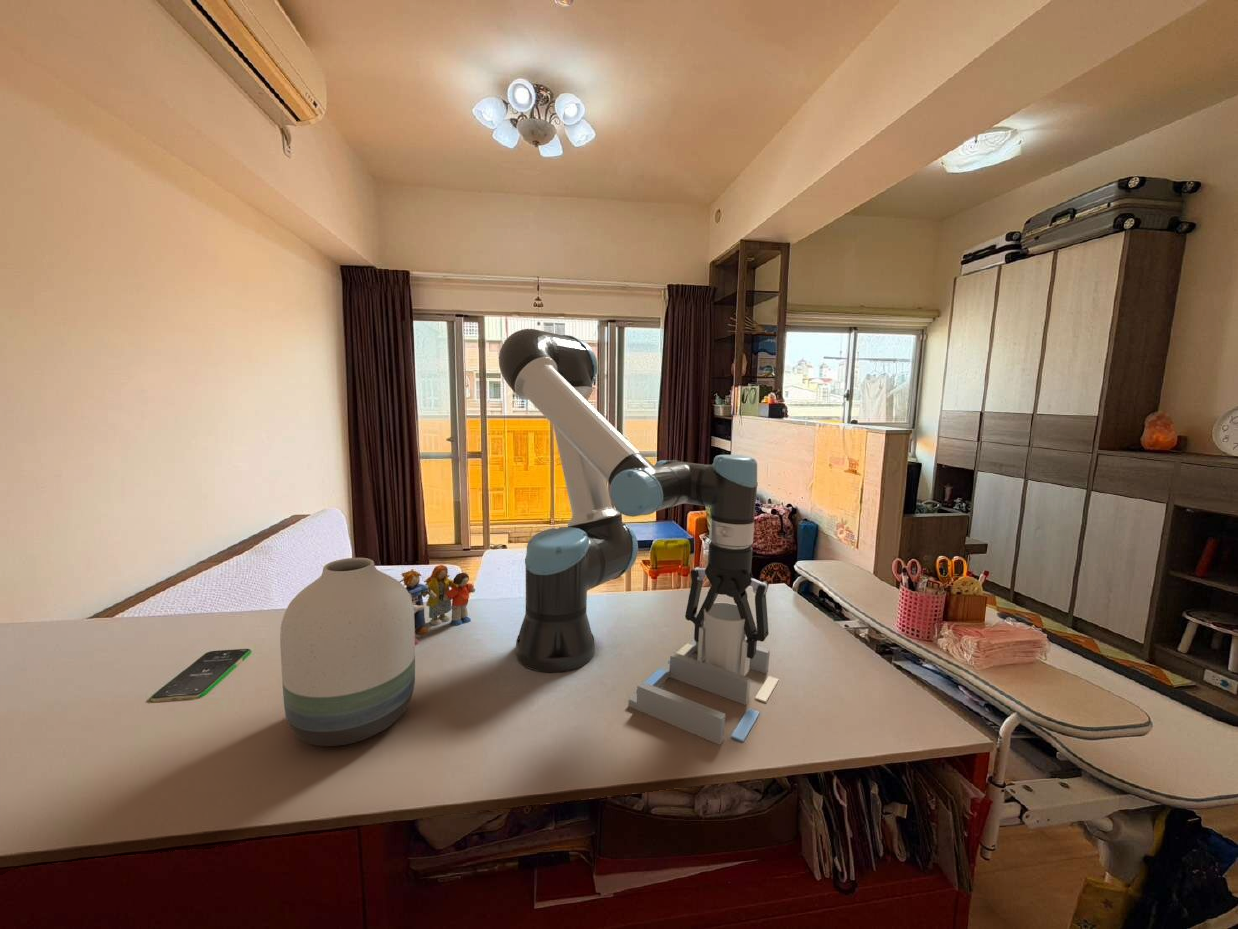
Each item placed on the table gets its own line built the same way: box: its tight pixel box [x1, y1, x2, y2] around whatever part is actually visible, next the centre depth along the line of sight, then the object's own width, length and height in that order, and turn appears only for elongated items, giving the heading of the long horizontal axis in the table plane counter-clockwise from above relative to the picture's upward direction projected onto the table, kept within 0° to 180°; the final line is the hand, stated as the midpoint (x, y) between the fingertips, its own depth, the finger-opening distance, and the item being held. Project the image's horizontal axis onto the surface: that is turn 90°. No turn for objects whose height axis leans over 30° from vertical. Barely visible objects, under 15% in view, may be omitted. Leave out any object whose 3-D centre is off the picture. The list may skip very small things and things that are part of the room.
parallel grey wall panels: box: [627, 639, 780, 746], centre depth 83 cm, size 18×24×4 cm
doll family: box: [398, 564, 476, 646], centre depth 100 cm, size 21×10×13 cm, turn 148°
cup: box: [704, 601, 746, 674], centre depth 87 cm, size 8×8×12 cm
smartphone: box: [148, 648, 252, 703], centre depth 82 cm, size 8×1×15 cm
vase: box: [279, 557, 416, 747], centre depth 70 cm, size 17×17×24 cm
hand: (722, 665), depth 87 cm, fingers closed on cup, 7 cm apart
